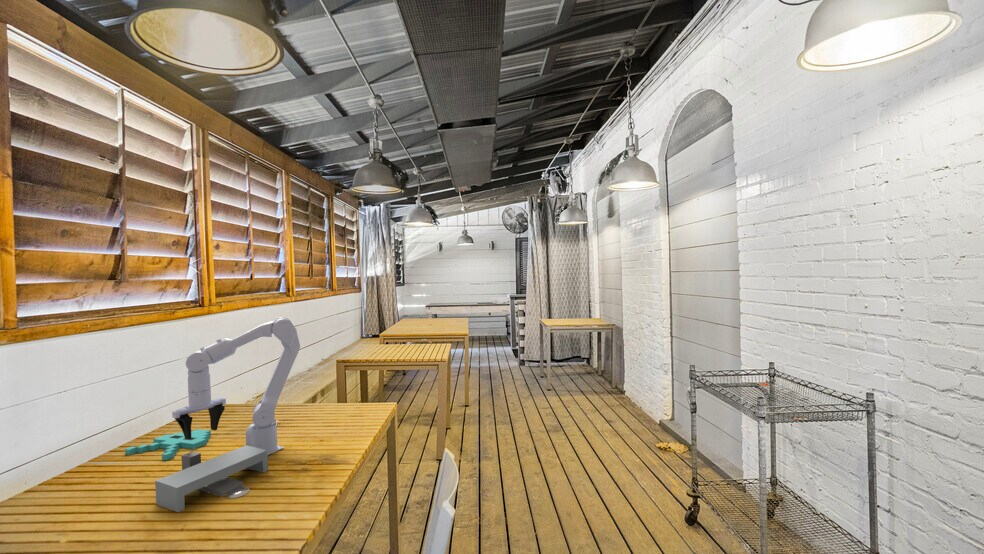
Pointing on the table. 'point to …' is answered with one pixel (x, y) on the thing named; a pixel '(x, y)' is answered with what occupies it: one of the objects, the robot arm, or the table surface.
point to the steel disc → (238, 492)
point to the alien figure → (173, 443)
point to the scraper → (216, 487)
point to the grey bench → (207, 475)
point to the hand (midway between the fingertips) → (201, 434)
